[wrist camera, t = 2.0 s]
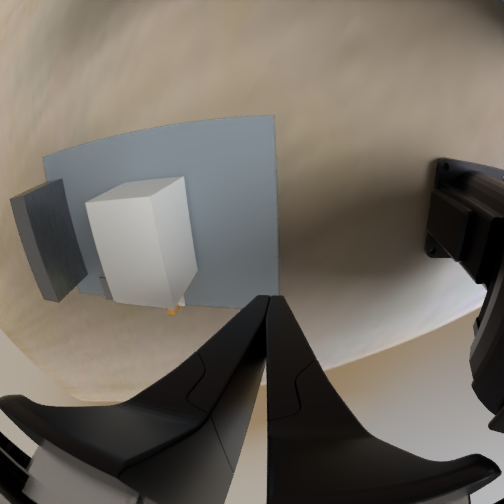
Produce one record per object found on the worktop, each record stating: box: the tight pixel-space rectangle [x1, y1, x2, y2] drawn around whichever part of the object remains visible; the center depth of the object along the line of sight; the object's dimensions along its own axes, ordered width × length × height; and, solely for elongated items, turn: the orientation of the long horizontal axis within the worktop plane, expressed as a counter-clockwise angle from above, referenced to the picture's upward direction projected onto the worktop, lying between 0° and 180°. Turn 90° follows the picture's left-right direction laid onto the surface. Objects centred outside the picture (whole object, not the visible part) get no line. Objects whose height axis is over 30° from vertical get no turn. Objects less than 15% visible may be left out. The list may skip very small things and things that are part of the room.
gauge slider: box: [85, 176, 198, 315], centre depth 15 cm, size 4×9×4 cm, turn 4°
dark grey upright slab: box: [10, 178, 88, 302], centre depth 16 cm, size 2×8×4 cm, turn 4°
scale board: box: [43, 115, 279, 309], centre depth 17 cm, size 17×12×2 cm
